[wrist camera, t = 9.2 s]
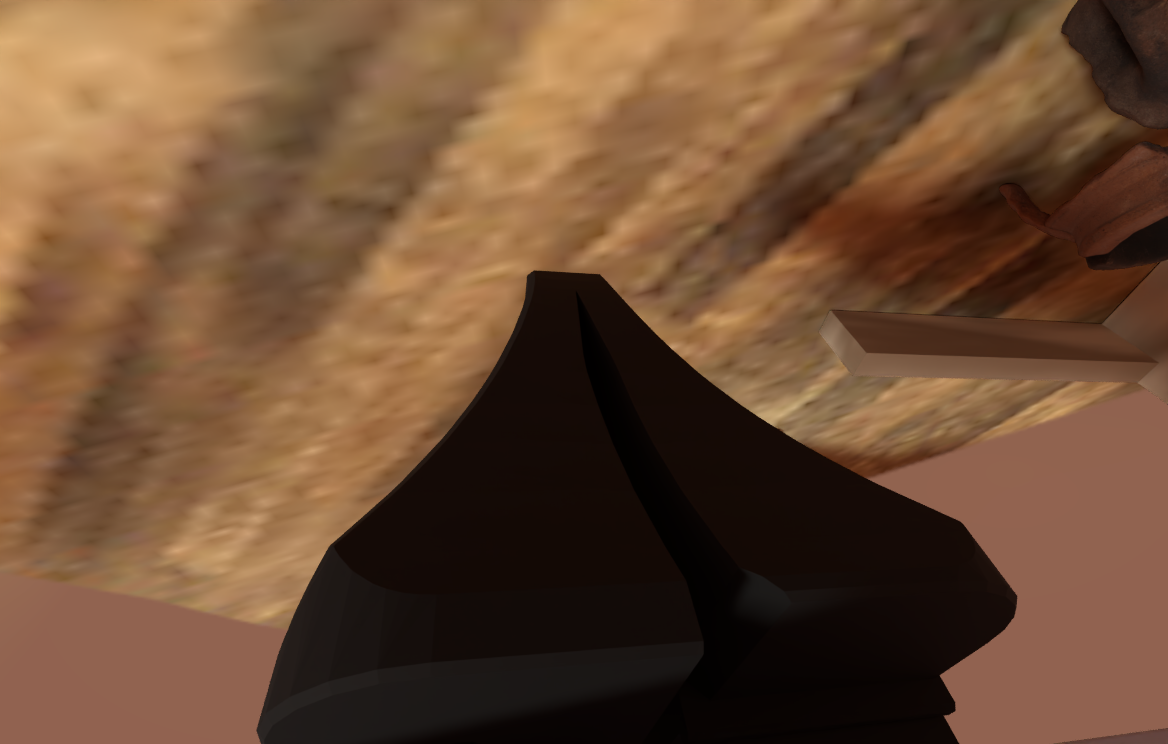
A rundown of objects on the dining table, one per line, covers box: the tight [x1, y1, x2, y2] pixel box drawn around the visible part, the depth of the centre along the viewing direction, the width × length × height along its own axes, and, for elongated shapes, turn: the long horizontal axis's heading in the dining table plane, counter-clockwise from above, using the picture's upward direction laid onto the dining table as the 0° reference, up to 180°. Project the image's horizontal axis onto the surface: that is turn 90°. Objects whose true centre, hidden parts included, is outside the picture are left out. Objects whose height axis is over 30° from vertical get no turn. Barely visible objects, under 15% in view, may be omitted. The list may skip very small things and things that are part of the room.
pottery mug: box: [999, 0, 1168, 270], centre depth 16 cm, size 12×10×8 cm
